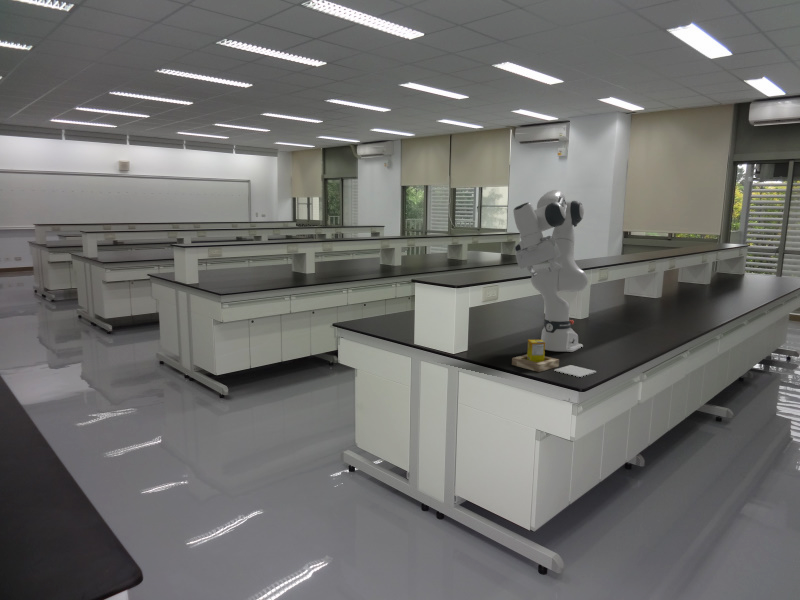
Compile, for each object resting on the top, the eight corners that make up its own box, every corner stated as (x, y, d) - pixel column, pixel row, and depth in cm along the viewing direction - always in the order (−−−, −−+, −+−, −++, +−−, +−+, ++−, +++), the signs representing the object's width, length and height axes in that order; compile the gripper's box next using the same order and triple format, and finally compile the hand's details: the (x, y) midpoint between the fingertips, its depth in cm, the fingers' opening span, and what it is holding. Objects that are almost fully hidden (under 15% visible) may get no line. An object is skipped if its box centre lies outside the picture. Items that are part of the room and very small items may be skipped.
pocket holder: (531, 359, 238) (532, 353, 237) (558, 366, 227) (559, 359, 227) (511, 364, 229) (512, 358, 228) (539, 372, 218) (539, 364, 218)
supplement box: (540, 363, 231) (541, 339, 230) (544, 367, 225) (545, 342, 224) (526, 363, 231) (527, 339, 229) (530, 367, 225) (531, 342, 223)
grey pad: (570, 366, 227) (570, 364, 227) (596, 372, 218) (596, 371, 218) (554, 371, 220) (554, 369, 220) (580, 377, 211) (580, 376, 211)
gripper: (557, 233, 212) (568, 266, 212) (520, 246, 229) (530, 277, 229) (547, 235, 209) (558, 269, 208) (510, 249, 226) (520, 280, 225)
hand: (543, 273), depth 219 cm, fingers open, 8 cm apart
